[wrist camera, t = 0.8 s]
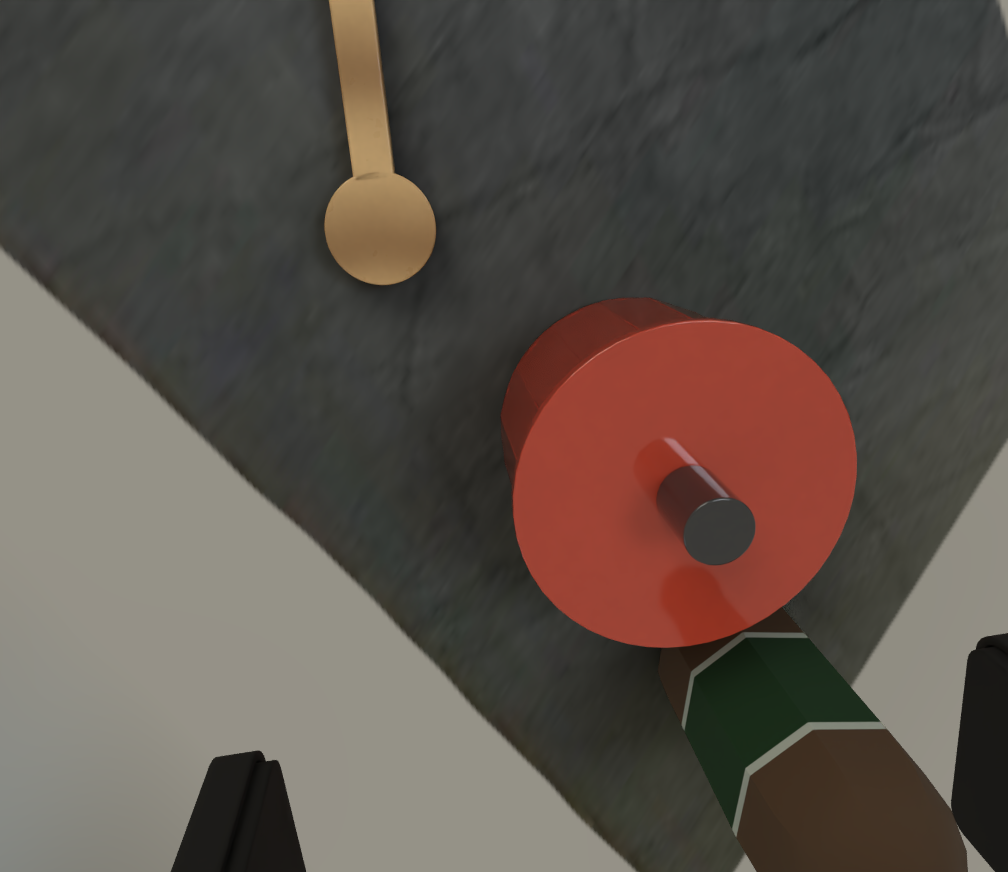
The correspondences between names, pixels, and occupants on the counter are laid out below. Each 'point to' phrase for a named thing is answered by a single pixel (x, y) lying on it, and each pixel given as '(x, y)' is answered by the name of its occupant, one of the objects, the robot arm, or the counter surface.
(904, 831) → the beer bottle
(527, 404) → the pot
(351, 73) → the spoon
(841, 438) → the pot lid
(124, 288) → the counter surface
